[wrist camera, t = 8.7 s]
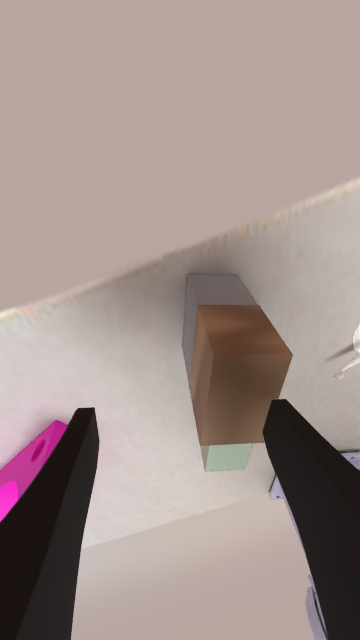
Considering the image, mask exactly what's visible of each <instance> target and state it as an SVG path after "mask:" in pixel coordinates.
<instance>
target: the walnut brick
mask: <svg viewBox="0 0 360 640" xmlns="http://www.w3.org/2000/svg"><path fill="white" fill-rule="evenodd" d="M292 356H293V355H292V353H291V352H290V350H289V349H288V347H287V346H286V344H285V343H284V341H283V340H282V338H281V337H280V335H279V334H278V332H277V331H276V330H275V328H274V327H273V325H272V324H271V322H270V321H269V319H268V318H267V316H266V315H265V313H264V312H263V310H262V309H261V308H260V306H259V305H197V315H196V324H195V334H194V343H193V352H192V362H191V371H190V381H189V388H190V393H191V399H192V404H193V410H194V415H195V421H196V427H197V432H198V438H199V443H200V446H211V445H230V444H249V443H264V437H263V433H262V431H263V428H264V424H265V421H266V417H267V414H268V411H269V407H270V404H271V401H272V400H277V399H278V398H279V395H280V392H281V389H282V386H283V383H284V380H285V377H286V374H287V371H288V368H289V365H290V362H291V359H292Z"/></svg>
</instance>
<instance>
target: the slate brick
mask: <svg viewBox="0 0 360 640" xmlns="http://www.w3.org/2000/svg"><path fill="white" fill-rule="evenodd" d="M197 305H257V303H256V302H255V300H254V299H253V297H252V296H251V294H250V293H249V291H248V290H247V288H246V287H245V285H244V284H243V282H242V281H241V279H240V278H239V276H238V275H221V274H187V284H186V298H185V312H184V326H183V339H182V348H183V354H184V359H185V365H186V370H187V376H188V381H190V371H191V362H192V352H193V343H194V334H195V324H196V315H197Z"/></svg>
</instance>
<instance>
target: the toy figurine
mask: <svg viewBox="0 0 360 640" xmlns="http://www.w3.org/2000/svg"><path fill="white" fill-rule="evenodd" d="M353 348H354V349H355V350H356V351H358V352H359V353H357V354H356V356H355V357H354V358H352V359H351V360H350V361H348V362H347V363H346V364H345V365H344V366H343V367H341V368H340V369H339V370H338V371H336V373H335V375H334V377H336V378H337V379H339V378H343V376H344V373H343V371H344V370H346V369H348V368H350V367H352V366H354V365H356V364H358V363H360V325H359V326H358V328H357V329H356V331H355V333H354V334H353Z"/></svg>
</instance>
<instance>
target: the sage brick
mask: <svg viewBox="0 0 360 640" xmlns="http://www.w3.org/2000/svg"><path fill="white" fill-rule="evenodd" d="M252 445H253V443H249V444H230V445H211V446H201V452H202V458H203V463H204V469H205V472H214V471H230V470H245V469H246V465H247V462H248V458H249V455H250V452H251V448H252Z"/></svg>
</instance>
